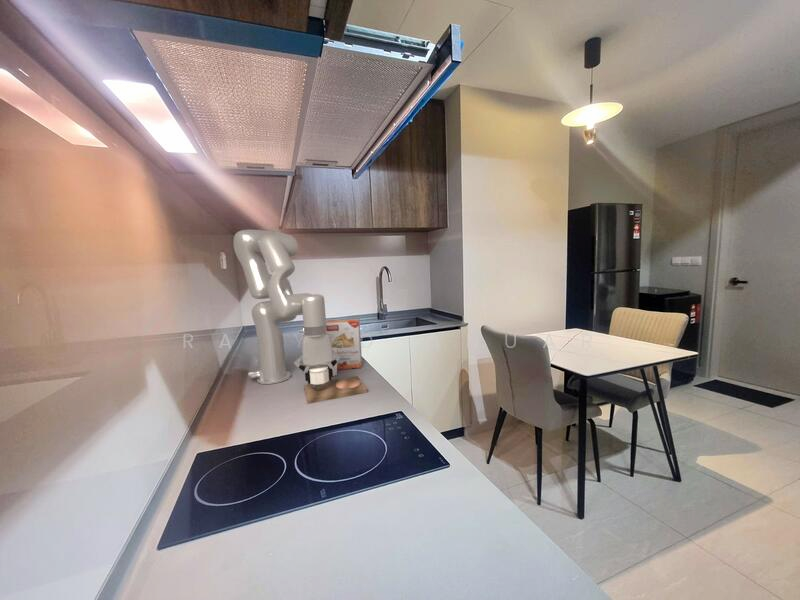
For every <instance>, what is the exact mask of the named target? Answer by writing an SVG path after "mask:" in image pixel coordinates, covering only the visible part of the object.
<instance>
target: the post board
mask: <svg viewBox="0 0 800 600" xmlns="http://www.w3.org/2000/svg"><path fill="white" fill-rule="evenodd" d="M303 389H304V395H305V400H306V404H307V405H308V404H314V403H315V404H316V403H318V402H319V403H320V402H325V401H329V400H331V401H332V400H335V399H341V398H346V397H350V396H355V395H362V394H367V393H368V388H367V386H366V385H365V384H364V383H363V380H361V379H360V377H359V376H358V375H354V376H349V377H348V376H347V377H344V378H337V379H331V380H329V381H328V382H326V383H324V384H318V385H317V384H316V385H315V384H308V383H307V384H303Z"/></svg>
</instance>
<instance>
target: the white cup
mask: <svg viewBox="0 0 800 600" xmlns="http://www.w3.org/2000/svg"><path fill="white" fill-rule="evenodd" d="M332 350H333V351H335V352H336V353H337V350H336V349H332ZM334 359H335V356H334V355H333V360H334ZM331 362H332V361H331ZM324 364H326V365H328V364H327V363H324ZM332 371H333V377H336V376H337V375H338V369H337V363H336V364H335V366H334V367H333V369H332ZM335 375H336V376H335Z"/></svg>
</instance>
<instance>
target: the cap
mask: <svg viewBox="0 0 800 600" xmlns="http://www.w3.org/2000/svg"><path fill="white" fill-rule="evenodd" d="M309 373H310V384H315V385H316V384H317V385H318V384H324V383H326V382H328V381H330V380H329V371H328V365H326V364H317V365H310V367H309Z"/></svg>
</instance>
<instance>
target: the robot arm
mask: <svg viewBox="0 0 800 600" xmlns="http://www.w3.org/2000/svg"><path fill="white" fill-rule="evenodd" d="M233 236H234V237H233V245H232V246H233V250H234V253H235V255H236V257H237V259H238V261H239V263H240V265H241V266H242V270H243V273H244V276H245V280H246V285H247V287H248V290H249V293H250V295H251V297H252V298H253V299H255V300H263V299H264V300H265V299H269V300H266V301H261V302H258V303H257V304H255V305H253V307H252V309H251V316H252V319H253V320H252V321H253V323H254V326H255V327H254V328H255V332H256V339H257V348H258V356H259V357H258V360H259V369H257V370H256V371H249V372H248V377H249V378H251V379H254V378H257V379H256V380H257V383H258V384H261V385H273V384H278V383H281V382H286V381H287V380H289V379H290V378H291V376H292V375H291V372H290V371H287V366H286V365H287V364H286V363H287V362H286V357H285V354H286V353H285V344H284V343H285V342H284V335H283V332H282V331H281V329H280V328H279V327H278V326H277V325H278V324H282V323H286V322H292V321H294V320H295V319H296V318H297V316H302V322H303V323H302V324H303V327H302V328H299V333H300V334H303V335H302V338H301V354H300V355H299V356H298V357H297V358H296V359H294V361H293V364H294V365H295V366H296V367H297V368H298V369H300V370H301V371H303V372H304V378H305V382H307V384H310V373H309V367H310V366H313V365H317V364H324V363H327V364H328V371H329V381H330V380H332V378H333V377H334V376H333V371H332V369H333V367H334V366H335V364H336V363H337V361H338V360H339V359H340V358H341V356H340V355H339V354H338V353H336V352H335V351H333V350H332V343H331V338H330V334H329V333H327V328H326V322H327V318H326V317H327V316H326V315H327V314H326V305H325V302H326V301H325V296H324V295H323V294H319V293H317V294H312V293H309V292H303V293H294V292H293V289H292V286H291V283H290V281H289V279H288V277H290V276H292V274H293V273H295V269H296V266H295V264H294V263H293V260H292V258H291V257H295V256H296V255H297V254H298V252H299V244H298V240H297V239H296V238H295V237H294V236H293V235H291V234H287V233H284V232H281V231H275V230H267V229H266V230H265V229H263V230H262V229H242V230H239V231H237V232H236V233H235V234H234V235H233ZM256 252H257V253H258V252H261V254H262V257H263V259H264V260H263V259H262V257H261V256H259V255H258V254H257V253H256ZM267 267H268V268H267ZM268 269H269V271H268ZM269 272H270V273H269ZM333 355H334V356H335V359H334V360H333ZM301 361H302V363H303V364H302V363H301ZM331 361H332V362H331Z"/></svg>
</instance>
